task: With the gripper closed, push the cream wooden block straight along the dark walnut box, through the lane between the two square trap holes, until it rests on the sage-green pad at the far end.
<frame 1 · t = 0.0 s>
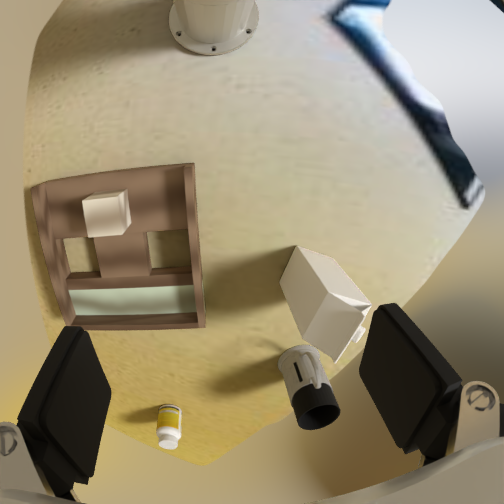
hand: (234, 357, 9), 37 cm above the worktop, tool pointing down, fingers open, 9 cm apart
block: (113, 207, 40), point 2 cm above the worktop, touching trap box
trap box: (124, 246, 45), on the worktop
white and black mug: (298, 350, 58), on the worktop
supplement bottle: (170, 409, 61), on the worktop
milk carton: (305, 269, 51), on the worktop
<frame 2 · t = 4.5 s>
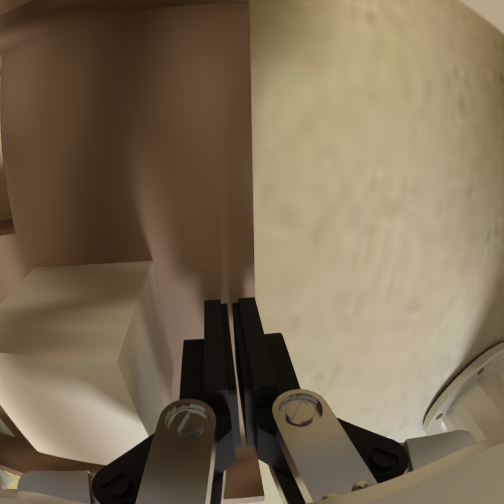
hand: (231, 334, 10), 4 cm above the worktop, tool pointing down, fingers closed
block: (103, 322, 11), point 2 cm above the worktop, touching gripper, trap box
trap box: (20, 294, 12), on the worktop
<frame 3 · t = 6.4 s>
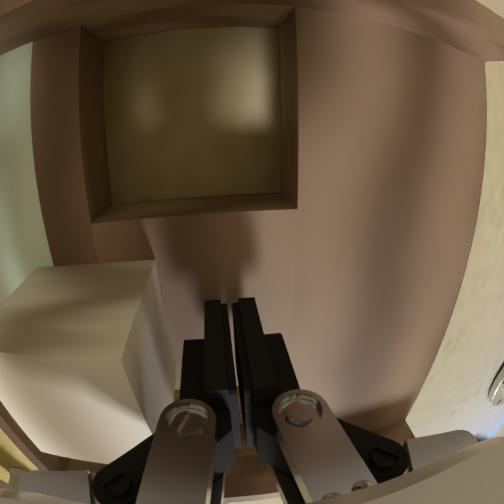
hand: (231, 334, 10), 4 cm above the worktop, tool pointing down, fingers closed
block: (106, 321, 11), point 3 cm above the worktop, touching gripper, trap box
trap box: (213, 285, 14), on the worktop
white and black mug: (53, 487, 23), on the worktop
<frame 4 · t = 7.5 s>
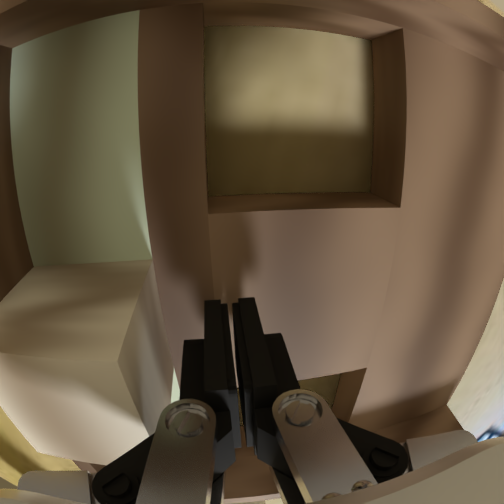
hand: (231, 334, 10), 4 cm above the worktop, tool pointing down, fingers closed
block: (103, 321, 11), point 2 cm above the worktop, touching gripper, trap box
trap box: (302, 279, 14), on the worktop
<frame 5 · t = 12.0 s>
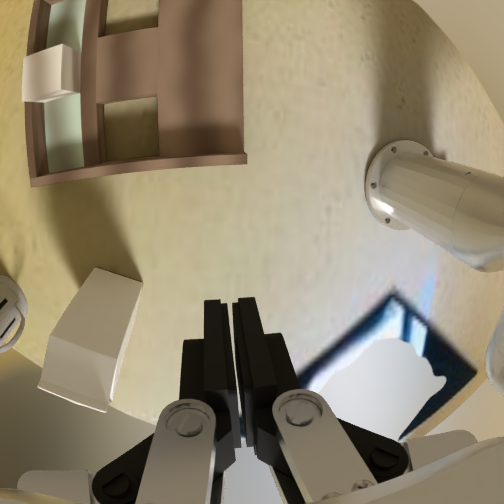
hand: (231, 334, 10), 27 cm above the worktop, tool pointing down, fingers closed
block: (61, 77, 25), point 2 cm above the worktop, touching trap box
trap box: (135, 66, 28), on the worktop
white and black mug: (18, 296, 37), on the worktop
milk carton: (115, 295, 39), on the worktop
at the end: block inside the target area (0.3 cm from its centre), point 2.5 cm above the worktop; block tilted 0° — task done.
